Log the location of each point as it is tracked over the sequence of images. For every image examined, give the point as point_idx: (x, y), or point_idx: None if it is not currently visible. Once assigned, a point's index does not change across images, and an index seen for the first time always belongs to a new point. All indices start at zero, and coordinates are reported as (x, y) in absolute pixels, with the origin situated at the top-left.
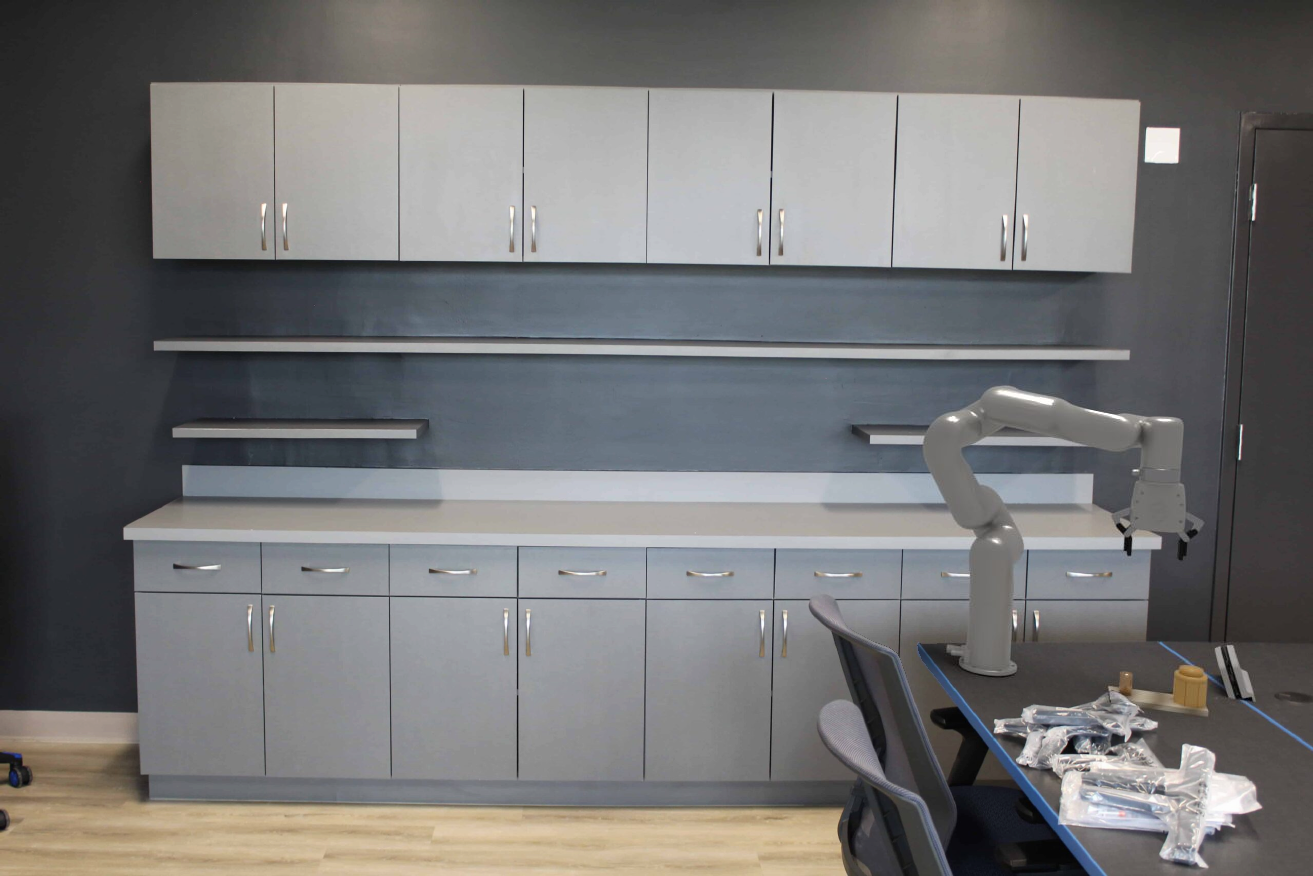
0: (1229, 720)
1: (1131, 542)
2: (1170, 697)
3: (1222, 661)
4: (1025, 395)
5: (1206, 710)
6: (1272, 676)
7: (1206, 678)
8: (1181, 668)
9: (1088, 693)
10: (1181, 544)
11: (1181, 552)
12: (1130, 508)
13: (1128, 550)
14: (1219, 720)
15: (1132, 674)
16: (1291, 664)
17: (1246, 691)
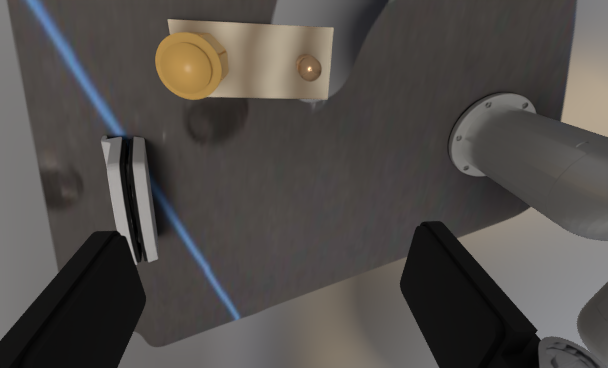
0: (135, 24)
1: (478, 296)
2: (232, 77)
3: (137, 181)
4: None
5: (171, 22)
6: None
7: (157, 49)
8: (206, 59)
9: (358, 74)
10: (26, 342)
11: (74, 273)
12: None
13: (457, 242)
14: (152, 16)
15: (300, 65)
16: None
17: (110, 142)
